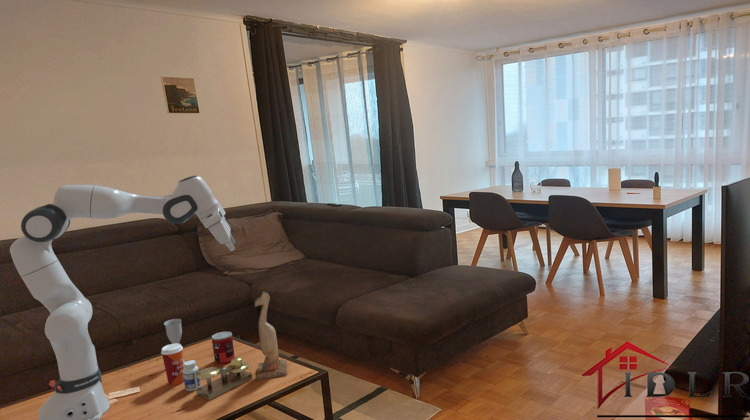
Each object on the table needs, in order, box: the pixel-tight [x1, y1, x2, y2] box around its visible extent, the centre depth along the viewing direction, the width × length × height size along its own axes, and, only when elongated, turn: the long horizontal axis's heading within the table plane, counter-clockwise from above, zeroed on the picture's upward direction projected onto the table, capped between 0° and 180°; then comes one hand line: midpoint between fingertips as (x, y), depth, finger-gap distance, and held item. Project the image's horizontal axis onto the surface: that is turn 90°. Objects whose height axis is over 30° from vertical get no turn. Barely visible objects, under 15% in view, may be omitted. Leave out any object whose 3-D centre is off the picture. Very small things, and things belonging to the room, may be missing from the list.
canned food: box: [211, 331, 236, 365], centre depth 199 cm, size 8×8×11 cm
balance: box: [195, 356, 253, 401], centre depth 176 cm, size 20×8×8 cm, turn 140°
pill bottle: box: [183, 359, 202, 392], centre depth 177 cm, size 5×5×10 cm
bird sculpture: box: [254, 291, 288, 381], centre depth 184 cm, size 11×12×32 cm
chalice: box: [163, 318, 186, 365], centre depth 199 cm, size 7×7×18 cm
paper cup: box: [160, 343, 185, 387], centre depth 183 cm, size 8×8×14 cm
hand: (233, 246), depth 180 cm, fingers open, 8 cm apart
